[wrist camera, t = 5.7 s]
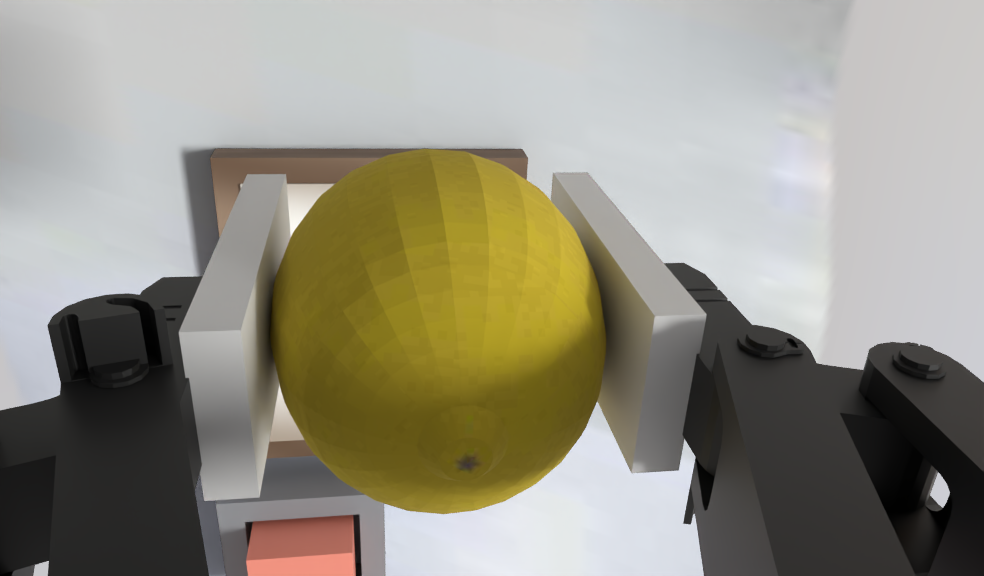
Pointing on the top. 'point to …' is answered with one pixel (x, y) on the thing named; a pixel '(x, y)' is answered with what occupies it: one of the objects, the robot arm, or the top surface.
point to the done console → (302, 511)
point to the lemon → (437, 331)
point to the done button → (302, 547)
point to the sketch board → (305, 185)
